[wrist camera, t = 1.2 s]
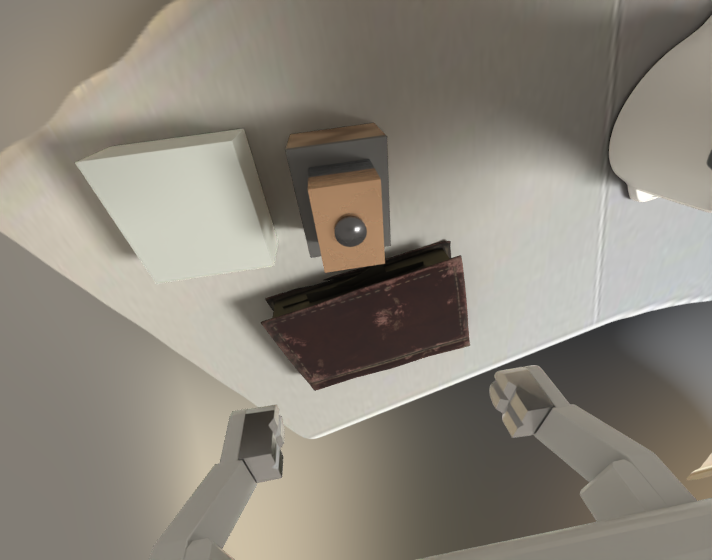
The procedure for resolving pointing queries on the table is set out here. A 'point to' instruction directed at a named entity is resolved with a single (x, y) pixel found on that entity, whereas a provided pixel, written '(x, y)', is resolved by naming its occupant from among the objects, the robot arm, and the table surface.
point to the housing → (347, 214)
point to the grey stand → (186, 204)
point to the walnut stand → (333, 150)
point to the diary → (373, 317)
